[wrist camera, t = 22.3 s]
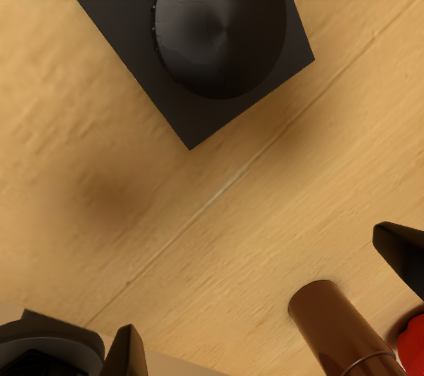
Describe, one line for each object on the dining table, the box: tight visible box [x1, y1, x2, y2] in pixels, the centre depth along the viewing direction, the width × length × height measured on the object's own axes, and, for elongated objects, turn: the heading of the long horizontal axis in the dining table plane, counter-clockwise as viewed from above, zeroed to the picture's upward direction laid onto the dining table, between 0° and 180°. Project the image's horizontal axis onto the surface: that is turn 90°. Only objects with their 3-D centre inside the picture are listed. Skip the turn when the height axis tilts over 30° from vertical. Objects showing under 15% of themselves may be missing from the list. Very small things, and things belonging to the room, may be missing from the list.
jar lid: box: [150, 0, 287, 100], centre depth 15 cm, size 7×7×2 cm
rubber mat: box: [77, 0, 315, 150], centre depth 16 cm, size 10×10×1 cm
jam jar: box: [289, 280, 409, 376], centre depth 26 cm, size 6×6×10 cm
